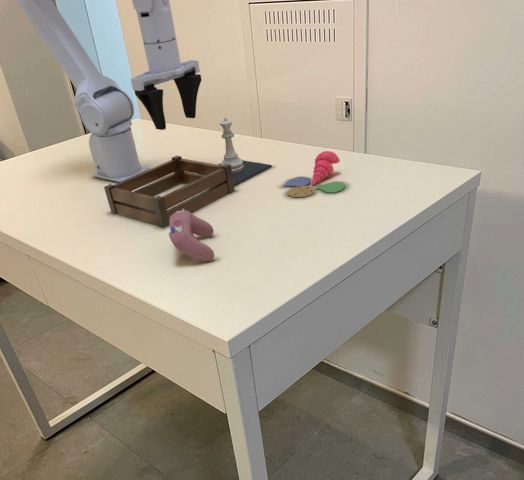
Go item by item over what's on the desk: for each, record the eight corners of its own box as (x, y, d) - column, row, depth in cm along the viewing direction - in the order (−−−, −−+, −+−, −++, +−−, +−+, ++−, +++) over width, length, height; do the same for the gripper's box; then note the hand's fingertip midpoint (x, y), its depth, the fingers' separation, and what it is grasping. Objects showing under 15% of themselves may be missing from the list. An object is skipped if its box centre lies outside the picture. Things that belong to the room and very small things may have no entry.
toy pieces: (289, 173, 104) (287, 150, 101) (348, 171, 101) (348, 147, 99) (277, 198, 94) (275, 173, 92) (342, 196, 92) (342, 170, 89)
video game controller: (192, 245, 87) (164, 211, 83) (216, 230, 85) (188, 194, 82) (191, 275, 79) (160, 238, 75) (217, 258, 78) (186, 220, 74)
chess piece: (222, 167, 110) (214, 115, 104) (244, 165, 109) (237, 112, 103) (220, 175, 106) (212, 121, 100) (243, 173, 106) (235, 118, 100)
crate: (111, 212, 98) (103, 186, 95) (181, 179, 108) (176, 155, 105) (164, 228, 90) (157, 199, 87) (234, 190, 100) (231, 164, 97)
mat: (193, 178, 108) (193, 176, 108) (231, 160, 114) (231, 158, 114) (234, 186, 102) (234, 184, 102) (271, 166, 108) (271, 164, 108)
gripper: (142, 49, 88) (161, 136, 96) (205, 32, 96) (218, 114, 104) (115, 49, 92) (136, 132, 100) (178, 33, 100) (192, 111, 108)
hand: (176, 123), depth 102 cm, fingers open, 7 cm apart
